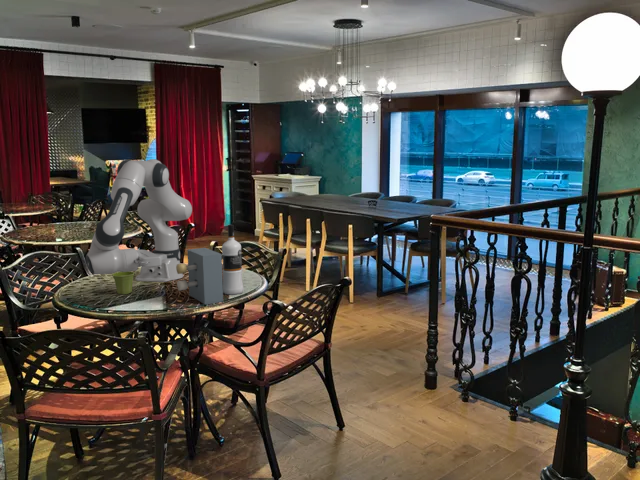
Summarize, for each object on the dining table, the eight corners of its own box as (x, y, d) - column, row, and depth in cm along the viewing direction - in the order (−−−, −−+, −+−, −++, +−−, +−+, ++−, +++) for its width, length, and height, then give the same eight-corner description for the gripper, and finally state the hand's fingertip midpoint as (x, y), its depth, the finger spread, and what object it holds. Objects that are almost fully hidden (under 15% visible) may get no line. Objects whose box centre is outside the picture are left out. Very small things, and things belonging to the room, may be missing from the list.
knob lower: (180, 291, 238) (180, 282, 237) (177, 289, 241) (176, 280, 241) (211, 287, 245) (211, 277, 245) (208, 285, 249) (207, 276, 248)
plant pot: (115, 296, 251) (113, 276, 249) (111, 291, 259) (110, 272, 258) (137, 293, 255) (136, 274, 254) (133, 289, 263) (132, 270, 262)
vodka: (231, 289, 262) (228, 222, 257) (248, 291, 258) (245, 224, 253) (218, 293, 254) (215, 225, 249) (235, 296, 250) (233, 226, 245)
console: (204, 304, 237) (202, 256, 234) (189, 295, 252) (187, 249, 249) (223, 301, 241) (221, 254, 238) (206, 292, 256) (205, 247, 253)
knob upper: (179, 274, 237) (179, 265, 236) (176, 273, 240) (176, 263, 240) (211, 270, 244) (210, 261, 243) (207, 269, 247) (207, 259, 247)
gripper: (137, 255, 218) (173, 252, 226) (124, 248, 235) (157, 245, 243) (138, 272, 219) (174, 268, 227) (124, 263, 236) (158, 260, 244)
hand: (165, 256), depth 235 cm, fingers closed
